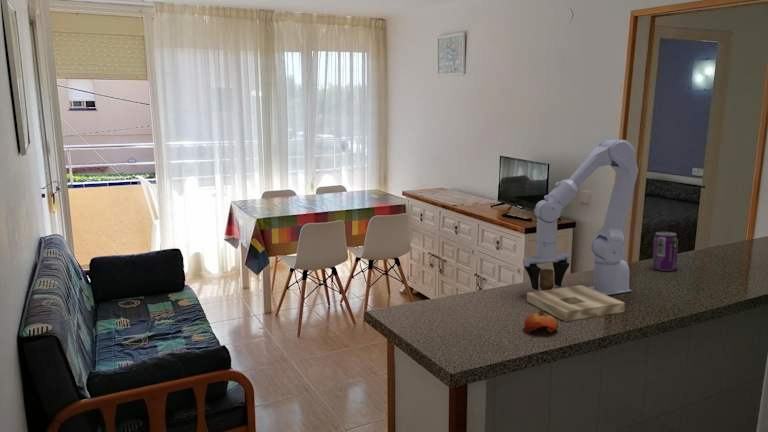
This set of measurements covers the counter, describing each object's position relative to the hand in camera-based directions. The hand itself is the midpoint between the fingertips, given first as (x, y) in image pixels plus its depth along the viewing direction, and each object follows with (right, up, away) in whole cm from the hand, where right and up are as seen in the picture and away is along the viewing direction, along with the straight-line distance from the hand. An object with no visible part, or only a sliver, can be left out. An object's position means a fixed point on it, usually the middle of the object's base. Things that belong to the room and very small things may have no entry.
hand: (546, 287), depth 168 cm
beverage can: (+45, +3, +21) cm, 50 cm away
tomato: (-9, -7, -29) cm, 31 cm away
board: (+4, -4, -12) cm, 13 cm away
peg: (0, -2, 0) cm, 2 cm away
